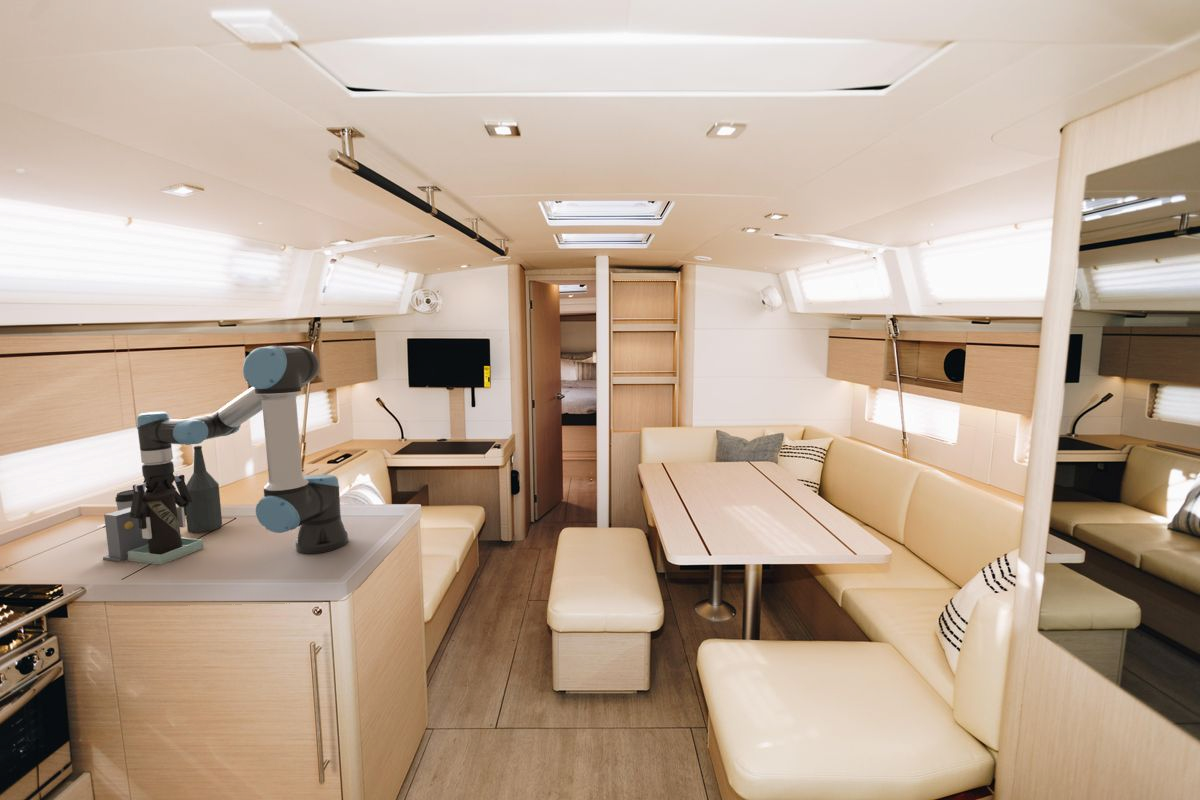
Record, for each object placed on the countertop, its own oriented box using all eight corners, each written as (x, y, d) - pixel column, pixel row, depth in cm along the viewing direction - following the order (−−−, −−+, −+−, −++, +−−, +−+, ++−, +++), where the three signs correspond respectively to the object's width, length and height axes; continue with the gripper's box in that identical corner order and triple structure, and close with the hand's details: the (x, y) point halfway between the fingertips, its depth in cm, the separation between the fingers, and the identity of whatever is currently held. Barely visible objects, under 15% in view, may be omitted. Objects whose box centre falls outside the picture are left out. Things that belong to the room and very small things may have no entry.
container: (164, 558, 163) (155, 495, 160) (140, 555, 165) (131, 493, 162) (191, 546, 172) (183, 486, 169) (168, 544, 174) (159, 484, 170)
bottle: (181, 531, 189) (172, 447, 186) (209, 522, 198) (202, 442, 195) (200, 535, 185) (192, 449, 182) (229, 525, 194) (221, 444, 191)
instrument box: (167, 544, 177) (163, 503, 175) (119, 561, 163) (114, 517, 162) (151, 542, 178) (147, 501, 177) (103, 559, 165) (98, 515, 163)
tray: (203, 548, 173) (202, 539, 173) (161, 564, 161) (160, 555, 160) (172, 544, 177) (171, 536, 176) (128, 560, 164) (127, 551, 164)
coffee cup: (154, 532, 188) (150, 490, 186) (124, 540, 181) (119, 496, 180) (145, 528, 193) (141, 487, 191) (115, 535, 186) (110, 493, 184)
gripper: (184, 454, 177) (190, 519, 180) (107, 470, 156) (116, 544, 158) (201, 455, 175) (208, 521, 178) (126, 471, 154) (135, 546, 156)
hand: (164, 532), depth 168 cm, fingers open, 9 cm apart
